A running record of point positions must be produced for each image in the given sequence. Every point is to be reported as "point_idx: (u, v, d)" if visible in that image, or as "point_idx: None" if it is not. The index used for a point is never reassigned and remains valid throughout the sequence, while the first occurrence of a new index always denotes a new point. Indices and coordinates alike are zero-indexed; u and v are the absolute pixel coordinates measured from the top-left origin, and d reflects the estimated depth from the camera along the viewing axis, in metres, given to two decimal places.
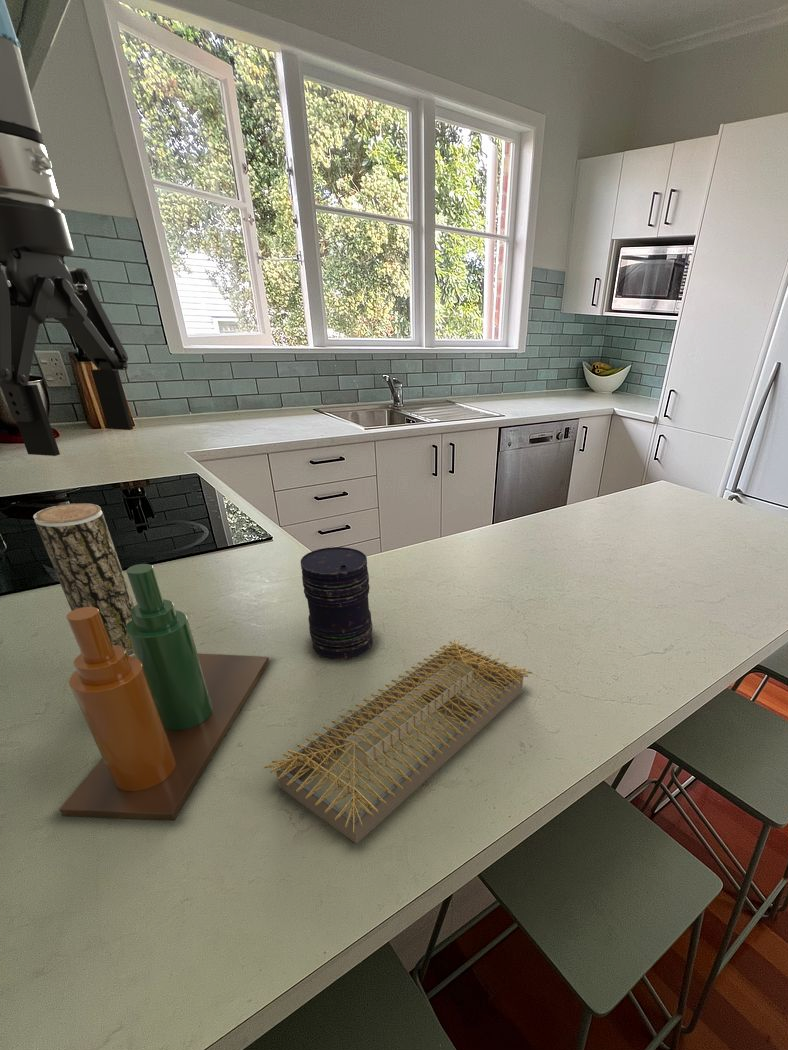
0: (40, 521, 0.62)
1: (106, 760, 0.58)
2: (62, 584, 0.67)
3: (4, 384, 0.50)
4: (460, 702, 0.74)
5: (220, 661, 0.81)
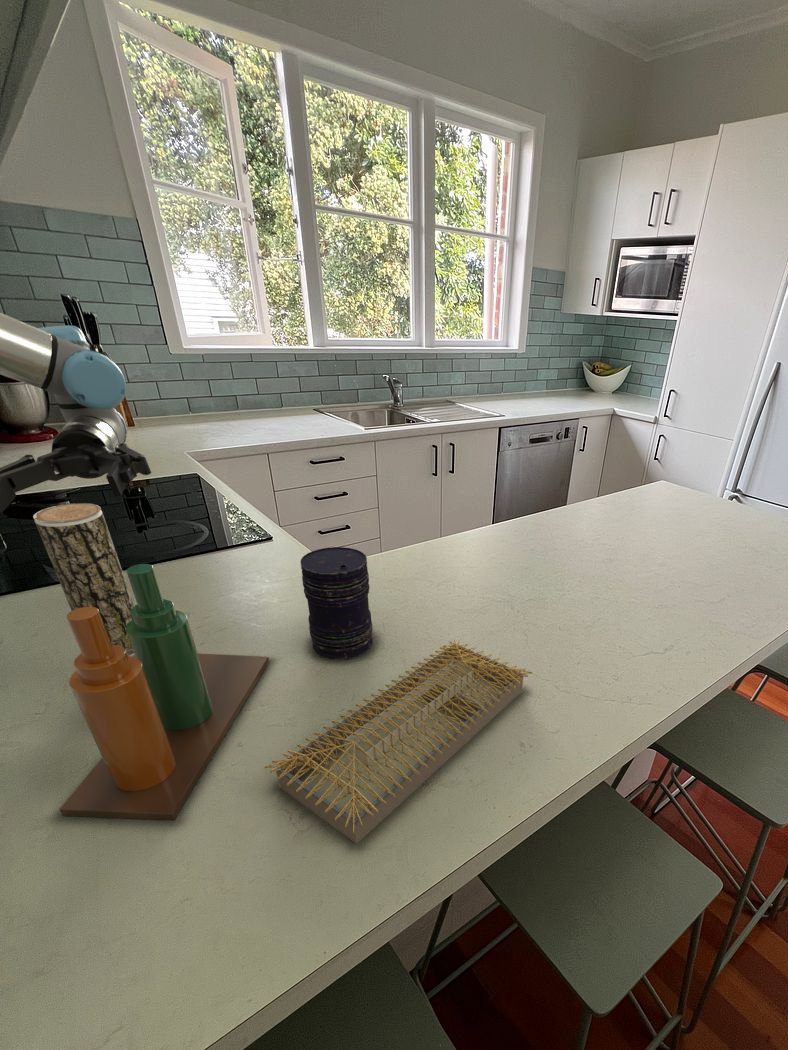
0: (40, 521, 0.62)
1: (106, 760, 0.58)
2: (62, 584, 0.67)
3: (134, 468, 0.76)
4: (460, 702, 0.74)
5: (220, 661, 0.81)
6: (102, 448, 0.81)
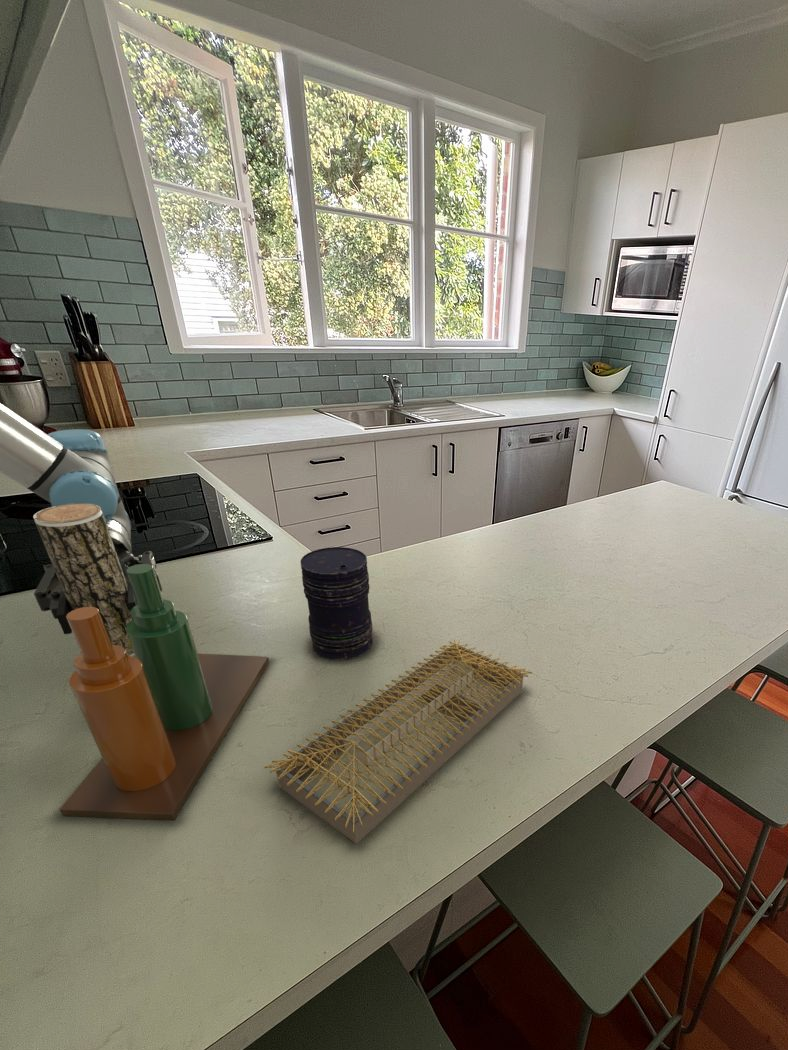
0: (40, 522, 0.62)
1: (106, 760, 0.58)
2: (62, 584, 0.67)
3: None
4: (460, 702, 0.74)
5: (220, 661, 0.81)
6: (127, 554, 0.81)
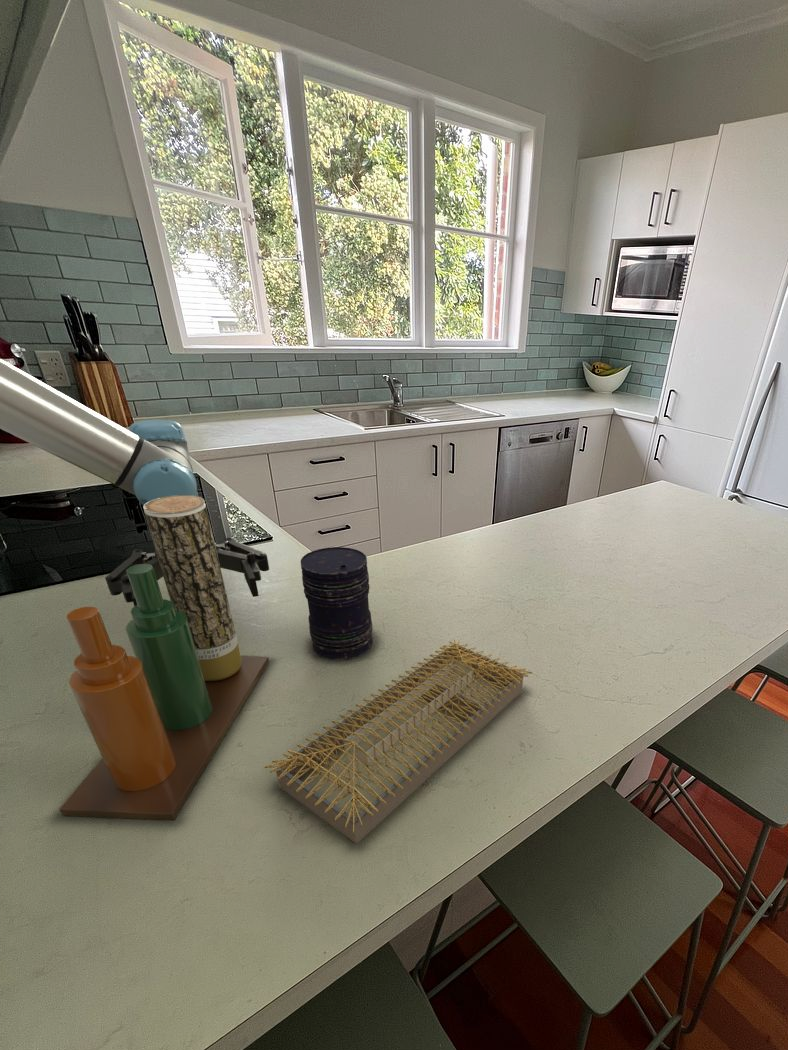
0: (151, 512, 0.64)
1: (106, 760, 0.58)
2: (166, 574, 0.68)
3: (258, 565, 0.78)
4: (460, 702, 0.74)
5: None
6: None
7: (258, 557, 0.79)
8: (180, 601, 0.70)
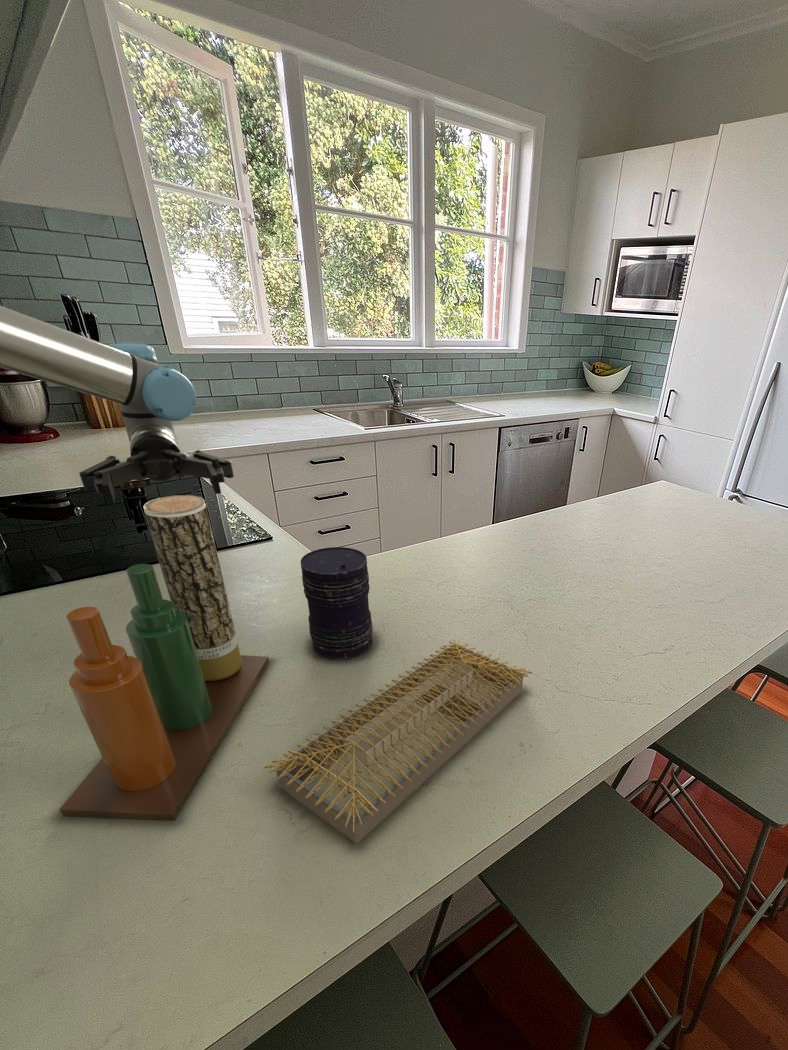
0: (152, 512, 0.64)
1: (106, 760, 0.58)
2: (166, 574, 0.68)
3: (222, 471, 0.85)
4: (460, 702, 0.74)
5: None
6: None
7: (223, 464, 0.86)
8: (180, 601, 0.70)
